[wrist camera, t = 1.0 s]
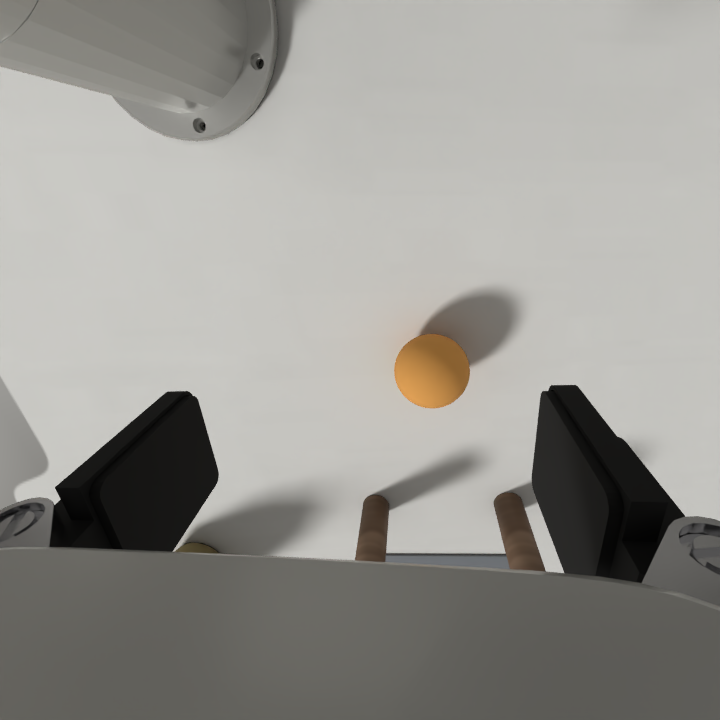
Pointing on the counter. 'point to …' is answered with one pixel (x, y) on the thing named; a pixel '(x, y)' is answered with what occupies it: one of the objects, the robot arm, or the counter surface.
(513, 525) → the post
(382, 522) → the post
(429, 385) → the ball
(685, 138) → the counter surface
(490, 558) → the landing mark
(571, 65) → the counter surface
